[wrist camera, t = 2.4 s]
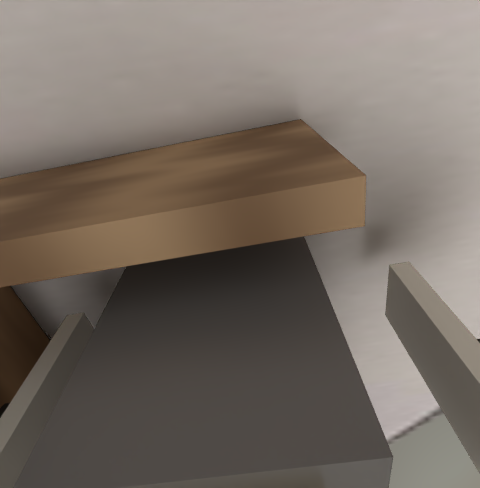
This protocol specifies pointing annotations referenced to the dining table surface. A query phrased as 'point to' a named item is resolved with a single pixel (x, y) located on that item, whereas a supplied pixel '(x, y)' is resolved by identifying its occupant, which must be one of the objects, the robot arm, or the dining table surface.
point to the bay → (163, 214)
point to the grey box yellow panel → (215, 384)
